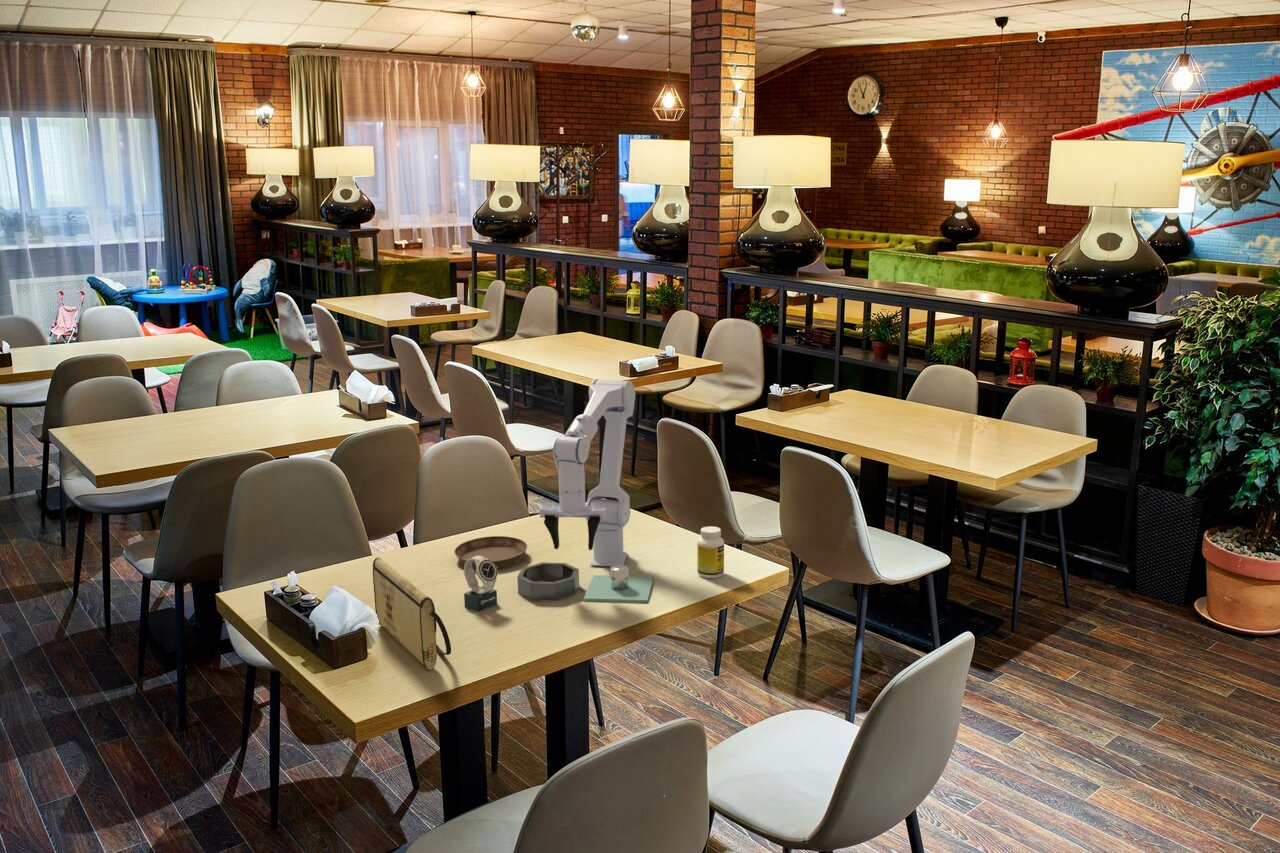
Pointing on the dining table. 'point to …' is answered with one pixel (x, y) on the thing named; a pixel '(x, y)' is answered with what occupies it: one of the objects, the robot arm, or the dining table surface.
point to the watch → (487, 574)
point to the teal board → (634, 593)
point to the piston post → (619, 577)
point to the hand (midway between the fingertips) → (573, 548)
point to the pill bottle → (710, 553)
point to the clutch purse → (407, 614)
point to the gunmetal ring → (548, 591)
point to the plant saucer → (492, 550)
